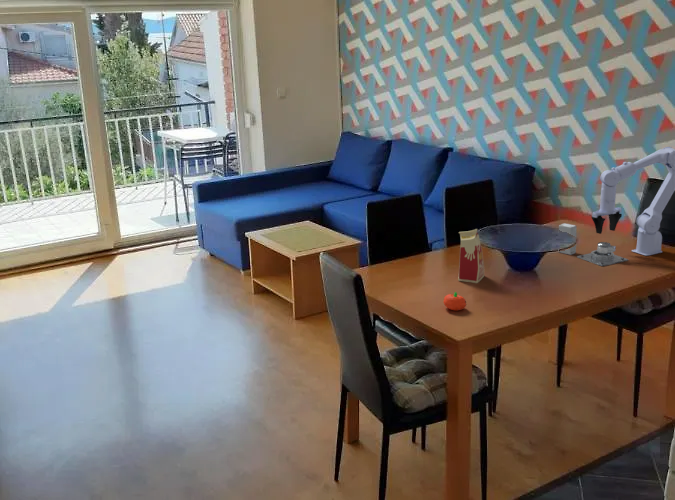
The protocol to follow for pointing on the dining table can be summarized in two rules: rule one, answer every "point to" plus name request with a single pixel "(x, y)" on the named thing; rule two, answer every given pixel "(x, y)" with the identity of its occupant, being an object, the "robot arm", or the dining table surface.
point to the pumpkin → (454, 302)
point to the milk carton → (470, 257)
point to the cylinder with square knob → (605, 248)
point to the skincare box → (571, 230)
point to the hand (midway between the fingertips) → (605, 231)
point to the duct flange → (602, 258)
